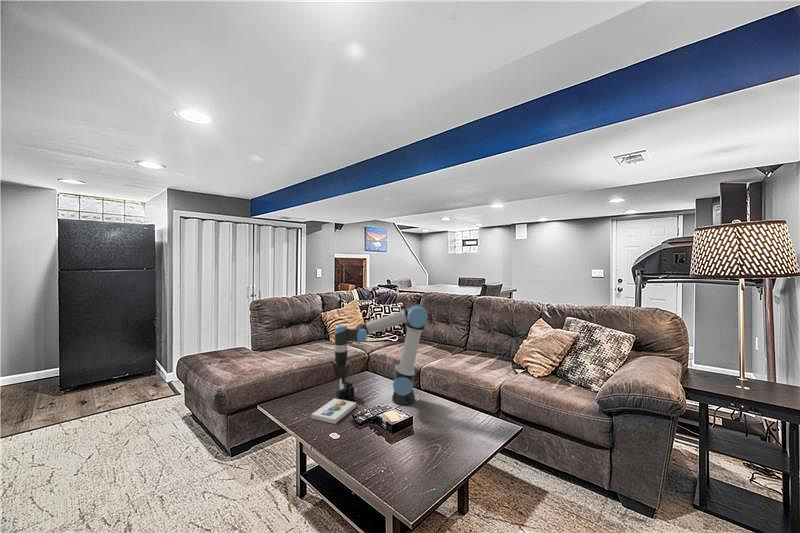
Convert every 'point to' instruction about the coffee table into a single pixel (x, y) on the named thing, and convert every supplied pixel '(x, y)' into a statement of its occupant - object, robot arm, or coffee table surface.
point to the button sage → (334, 406)
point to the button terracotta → (341, 403)
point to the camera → (346, 392)
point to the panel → (335, 414)
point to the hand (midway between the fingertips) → (341, 388)
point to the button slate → (328, 412)
